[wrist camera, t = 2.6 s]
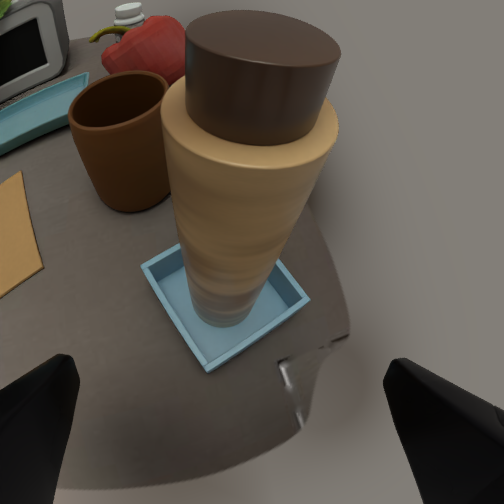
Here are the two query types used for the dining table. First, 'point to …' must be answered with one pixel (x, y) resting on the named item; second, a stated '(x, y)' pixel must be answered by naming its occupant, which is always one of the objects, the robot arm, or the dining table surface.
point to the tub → (214, 338)
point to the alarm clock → (31, 45)
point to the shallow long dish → (39, 112)
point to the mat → (16, 236)
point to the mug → (123, 138)
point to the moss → (4, 6)
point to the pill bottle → (128, 17)
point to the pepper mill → (245, 149)
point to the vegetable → (147, 48)
